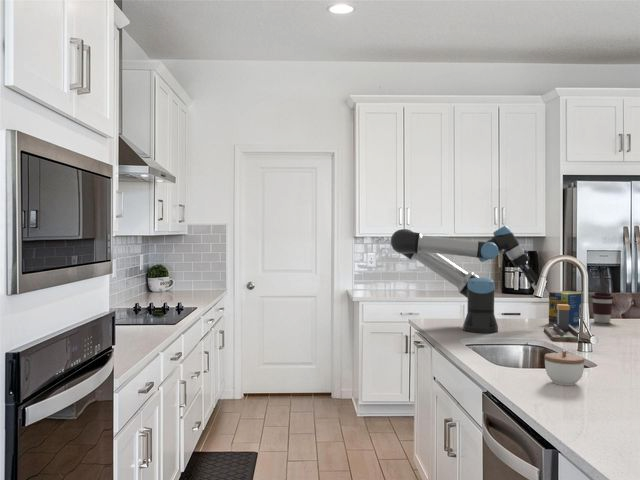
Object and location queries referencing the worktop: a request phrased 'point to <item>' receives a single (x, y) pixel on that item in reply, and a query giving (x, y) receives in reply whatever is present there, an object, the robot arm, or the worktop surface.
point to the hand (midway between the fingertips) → (544, 295)
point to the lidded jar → (564, 368)
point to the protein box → (565, 298)
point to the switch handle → (563, 316)
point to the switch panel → (562, 334)
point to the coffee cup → (602, 306)
